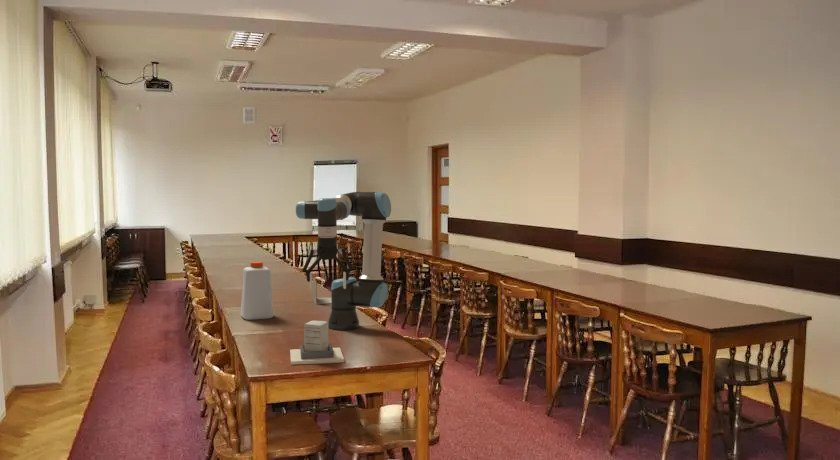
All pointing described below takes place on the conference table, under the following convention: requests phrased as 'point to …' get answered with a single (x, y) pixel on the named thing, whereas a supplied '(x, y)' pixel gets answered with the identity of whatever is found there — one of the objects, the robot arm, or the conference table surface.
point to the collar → (317, 353)
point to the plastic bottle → (256, 292)
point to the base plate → (297, 358)
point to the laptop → (317, 300)
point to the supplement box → (316, 336)
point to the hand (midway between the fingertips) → (327, 288)
